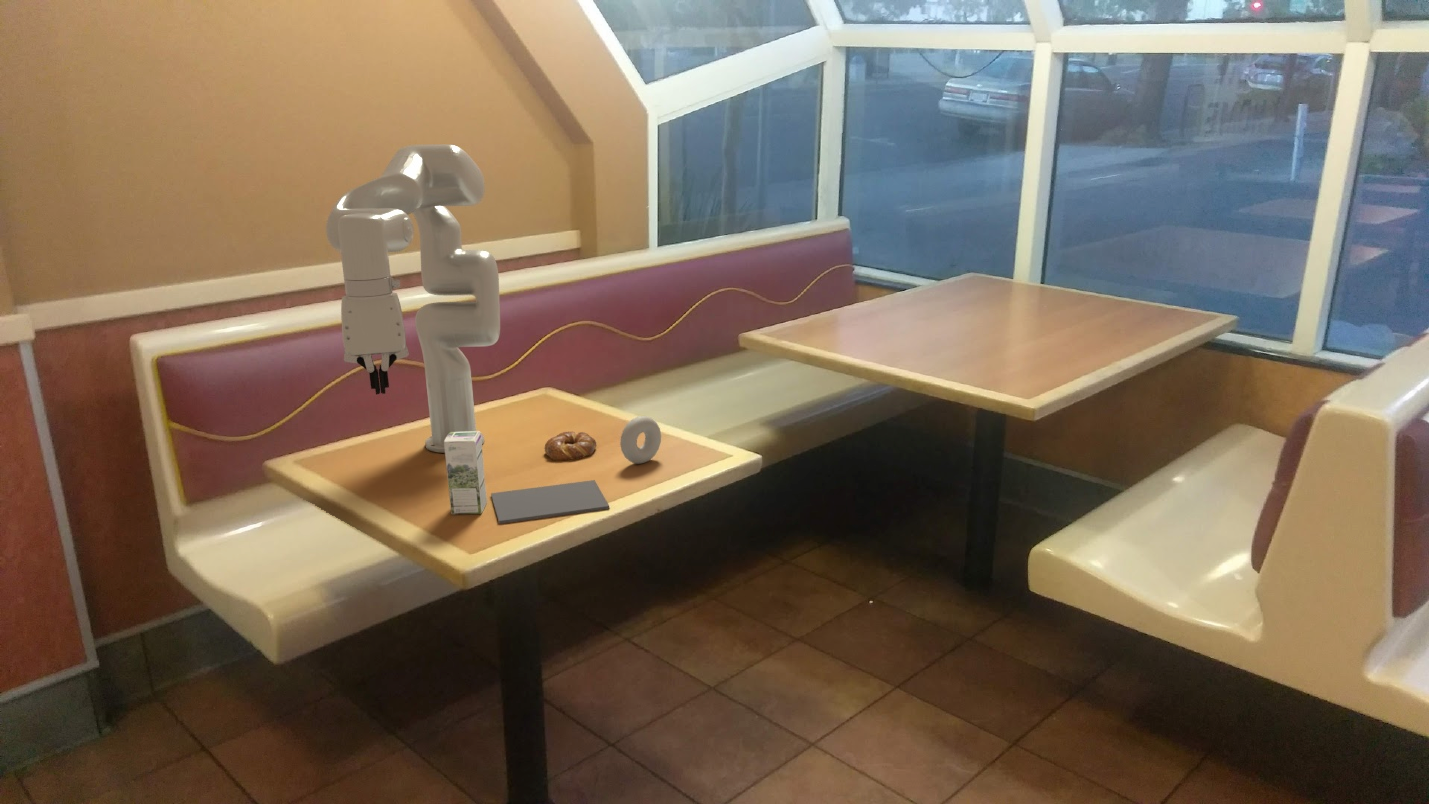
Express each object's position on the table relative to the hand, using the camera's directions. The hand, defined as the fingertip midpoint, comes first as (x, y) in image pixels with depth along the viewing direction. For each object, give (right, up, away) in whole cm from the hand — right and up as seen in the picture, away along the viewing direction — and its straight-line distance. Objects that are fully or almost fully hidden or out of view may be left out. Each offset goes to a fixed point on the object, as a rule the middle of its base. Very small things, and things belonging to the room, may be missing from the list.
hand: (380, 392), depth 176 cm
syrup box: (+13, -22, +11) cm, 28 cm away
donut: (+43, -15, +33) cm, 56 cm away
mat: (+27, -21, +13) cm, 37 cm away
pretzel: (+27, -13, +40) cm, 50 cm away
